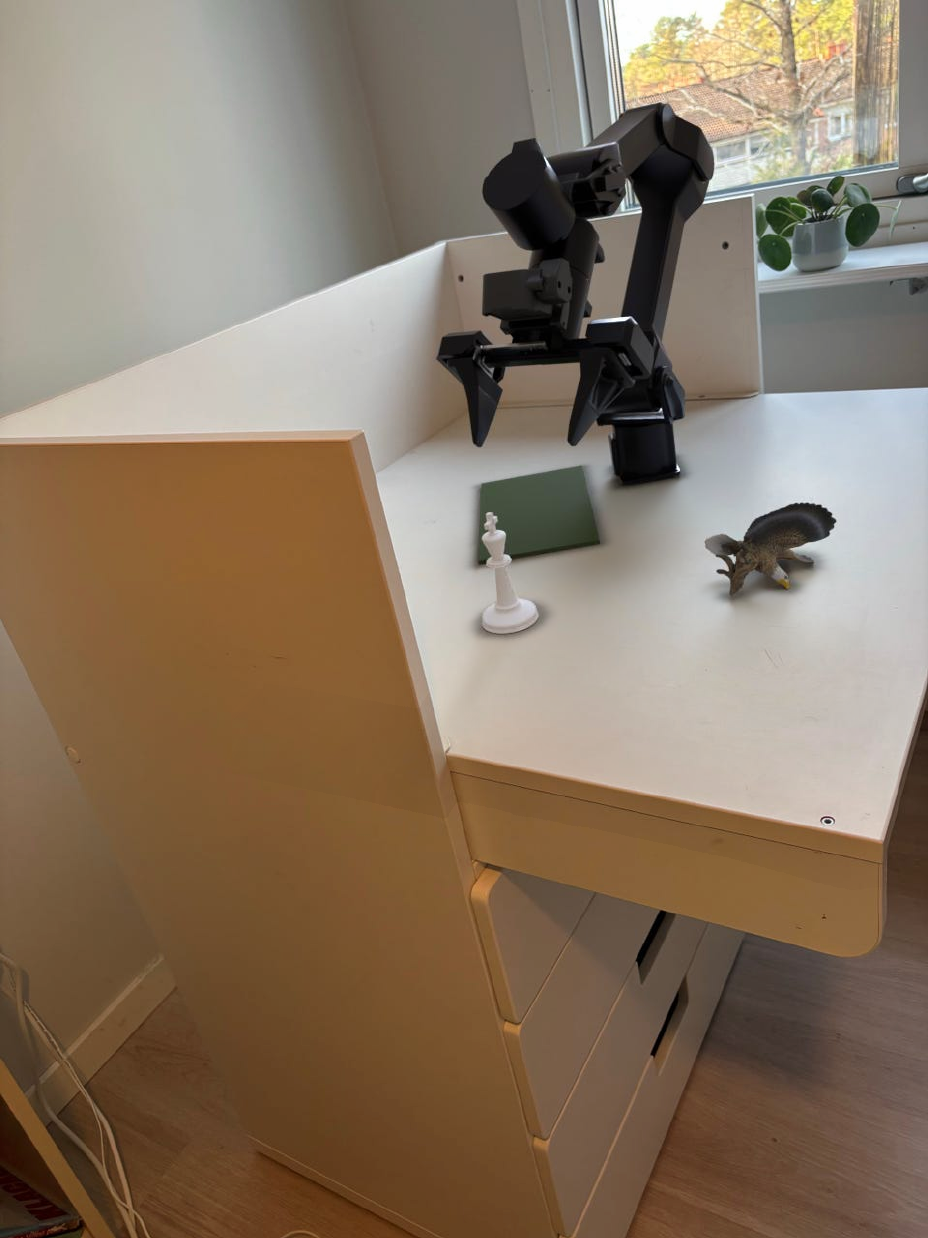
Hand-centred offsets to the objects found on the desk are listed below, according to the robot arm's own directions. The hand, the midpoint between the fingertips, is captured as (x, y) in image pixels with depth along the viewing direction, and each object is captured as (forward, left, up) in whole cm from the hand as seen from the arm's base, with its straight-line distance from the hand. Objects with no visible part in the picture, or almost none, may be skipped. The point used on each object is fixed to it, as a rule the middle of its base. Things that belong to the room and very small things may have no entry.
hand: (522, 444), depth 79 cm
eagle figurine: (-18, +7, -13) cm, 24 cm away
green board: (+1, -17, -13) cm, 22 cm away
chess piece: (+4, +6, -13) cm, 15 cm away
